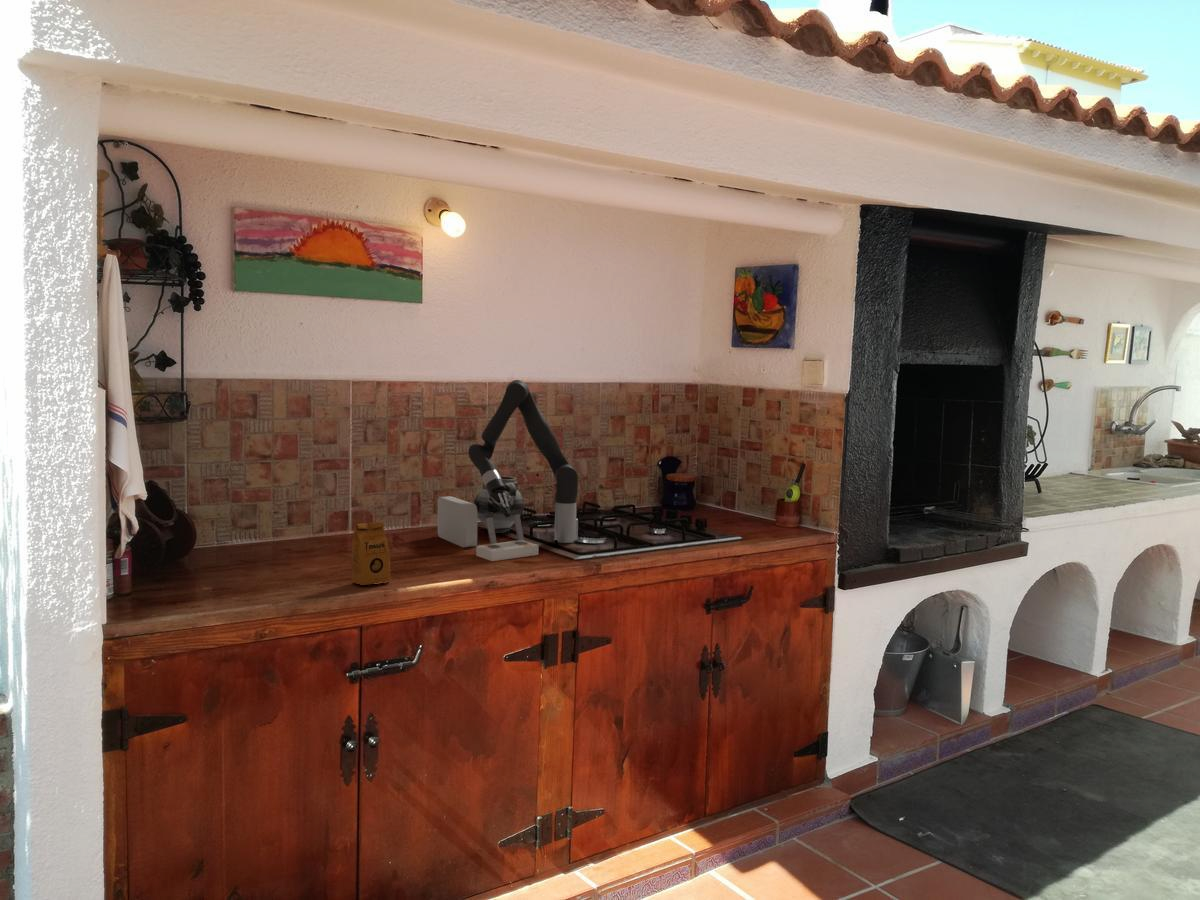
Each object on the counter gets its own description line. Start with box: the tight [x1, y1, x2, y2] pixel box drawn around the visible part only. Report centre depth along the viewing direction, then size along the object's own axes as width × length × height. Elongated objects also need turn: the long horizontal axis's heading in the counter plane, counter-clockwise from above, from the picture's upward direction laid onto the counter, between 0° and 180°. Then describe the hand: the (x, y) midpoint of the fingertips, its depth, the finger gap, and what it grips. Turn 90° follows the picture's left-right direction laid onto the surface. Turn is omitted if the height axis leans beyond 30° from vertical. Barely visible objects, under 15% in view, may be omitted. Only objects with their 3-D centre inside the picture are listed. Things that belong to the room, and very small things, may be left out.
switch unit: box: [475, 539, 539, 562], centre depth 389 cm, size 22×12×4 cm, turn 128°
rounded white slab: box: [437, 495, 478, 548], centre depth 413 cm, size 29×8×18 cm, turn 33°
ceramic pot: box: [473, 475, 525, 534], centre depth 438 cm, size 29×23×25 cm
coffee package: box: [351, 520, 391, 586], centre depth 338 cm, size 10×12×22 cm
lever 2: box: [511, 509, 525, 541], centre depth 394 cm, size 3×3×12 cm
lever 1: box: [484, 512, 498, 544], centre depth 386 cm, size 3×3×12 cm
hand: (508, 516), depth 399 cm, fingers closed
